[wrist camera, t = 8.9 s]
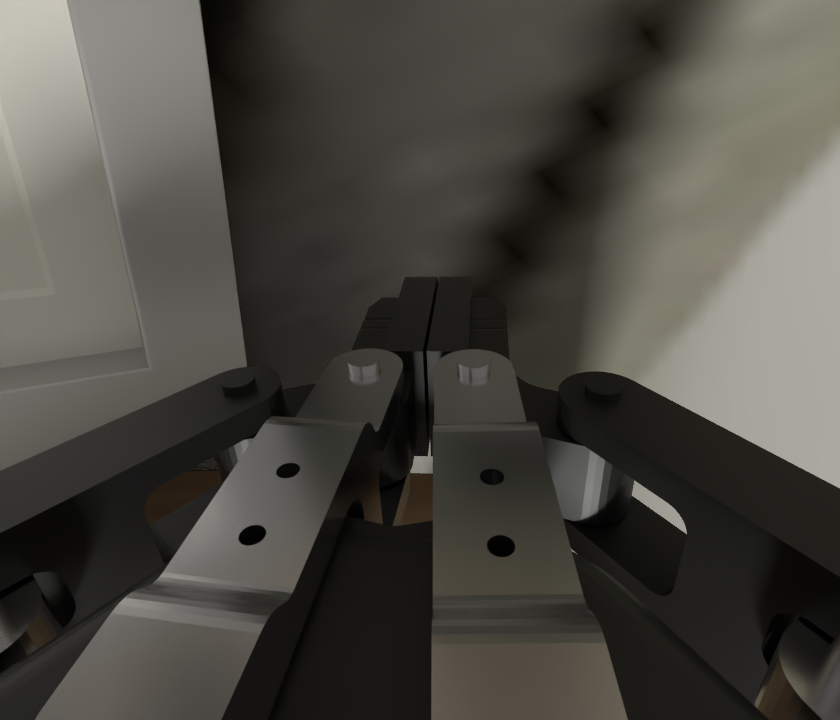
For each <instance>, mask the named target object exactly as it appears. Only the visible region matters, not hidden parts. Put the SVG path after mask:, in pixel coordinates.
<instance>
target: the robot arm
mask: <svg viewBox="0 0 840 720" xmlns="http://www.w3.org/2000/svg"><path fill="white" fill-rule="evenodd" d="M429 442H430V443H431V456H433V520H432V521H426V522H419V523H413V524H406V525H401V521H402V517H403V514H404V510H405V506H406V502H407V499H408V495H409V491H410V487H411V477H410V470H411V468H412V465H413V459H414V456H428V449H429ZM213 456H215V458H216V462H217V465H218V469H219V472H220V476H221V479H222V484H220V485H218V486H216V487H215V488H213V489H211V490H210V491H208V492H206V493H204V494H203V495H201V496H199V497H197V498H196V499H194V500H192V501H190V502H189V503H187V504H185V505H183V506H182V507H180V508H178V509H177V510H175V511H173V512H171V513H170V514H168V515H166V516H164V517H163V518H161V519H159V520H157V521H156V522H154V523H152V524H150V525H149V524H148V521H147V519H146V516H145V512H144V508H145V503H146V501H147V499H148V497H149V495H150V494H151V493H152V492H153V491H154V490H155V489H156V488H157V487H158V486H160V485H161V484H163V483H165V482H167V481H169V480H171V479H172V478H174V477H176V476H178V475H180V474H182V473H184V472H185V471H187V470H189V469H191V468H193V467H195V466H197V465H198V464H200V463H202V462H204V461H206V460H208V459H210V458H211V457H213ZM634 480H635V481H637V482H638V483H639V484H641V485H642V486H644V487H645V488H647V489H648V490H650V491H651V492H653V493H654V494H656V495H657V496H659V497H660V498H661V499H663V500H664V501H666V502H667V503H669V504H670V505H671V506H672V507H673V508H675V509H676V511H677V512H678V513H679V514H680V516H681V517H682V519H683V521H684V523H685V526H686V530H687V534H685V533H684V532H683V531H681V530H679V529H678V528H677V527H675V526H674V525H673V524H671V523H670V522H668V521H667V520H666V519H664V518H663V517H661V516H660V515H658V514H657V513H655V512H654V511H653V510H651V509H650V508H649V507H647V506H646V505H644V504H643V503H641V502H640V501H639V500H637V499H636V498H634V497H633V496H632V490H633V485H634ZM571 549H572V550H574V551H575V552H576V553H577V554H576V553H574V552H572V551H571ZM33 574H34V575H33ZM0 720H840V489H839V488H837V487H836V486H834V485H832V484H830V483H828V482H826V481H824V480H822V479H820V478H818V477H816V476H815V475H813V474H811V473H809V472H806V471H805V470H803V469H801V468H799V467H797V466H795V465H794V464H791V463H790V462H788V461H786V460H784V459H782V458H780V457H778V456H776V455H774V454H772V453H770V452H768V451H766V450H765V449H763V448H761V447H759V446H757V445H755V444H753V443H751V442H749V441H747V440H746V439H744V438H742V437H740V436H738V435H736V434H734V433H732V432H730V431H728V430H727V429H725V428H723V427H721V426H719V425H717V424H715V423H713V422H711V421H709V420H707V419H705V418H703V417H701V416H700V415H698V414H696V413H694V412H692V411H690V410H688V409H686V408H684V407H682V406H680V405H679V404H677V403H675V402H673V401H671V400H669V399H667V398H665V397H663V396H661V395H659V394H657V393H656V392H654V391H652V390H650V389H648V388H646V387H644V386H642V385H640V384H638V383H636V382H635V381H633V380H631V379H628V378H626V377H623V376H620V375H617V374H613V373H607V372H583V373H578V374H575V375H572V376H570V377H568V378H566V379H565V380H564V381H562V383H561V384H560V386H559V390H558V392H557V391H553V390H548V389H543V388H539V387H536V386H533V385H530V384H528V383H526V382H524V381H523V380H521V379H520V378H518V377H517V376H516V375H515V371H514V367H513V365H512V363H511V362H510V359H509V347H508V334H507V322H506V309H505V307H504V306H503V305H502V304H501V303H500V302H499V301H498V300H497V299H496V298H495V297H472V276H462V277H440V278H439V283H438V277H405V279H404V282H403V286H402V289H401V292H400V295H399V298H381V299H380V300H379V301H377V302H376V303H374V304H373V305H372V306H370V307H369V309H368V312H367V314H366V317H365V321H363V324H362V326H361V330H360V331H359V334H358V336H357V339H356V341H355V343H354V346H353V348H352V351H349V352H346V353H343V354H341V355H339V356H337V357H335V358H334V359H332V360H331V361H330V362H329V363H328V365H327V366H326V368H325V370H324V371H323V373H322V374H321V376H320V378H319V379H318V381H317V383H315V384H311V385H306V386H300V387H295V388H289V389H283V390H282V386H281V381H280V377H279V376H278V374H277V373H275V372H274V371H272V370H270V369H267V368H263V367H241V368H236V369H231V370H228V371H225V372H222V373H220V374H217V375H215V376H213V377H210V378H208V379H206V380H204V381H201V382H199V383H197V384H195V385H192V386H190V387H188V388H186V389H183V390H181V391H179V392H177V393H174V394H172V395H170V396H168V397H165V398H163V399H161V400H159V401H156V402H154V403H152V404H150V405H147V406H145V407H143V408H141V409H138V410H136V411H134V412H132V413H129V414H127V415H125V416H123V417H120V418H118V419H116V420H114V421H111V422H109V423H107V424H104V425H102V426H100V427H98V428H95V429H93V430H91V431H89V432H86V433H84V434H82V435H80V436H77V437H75V438H73V439H71V440H68V441H66V442H64V443H62V444H59V445H57V446H55V447H53V448H50V449H48V450H46V451H44V452H41V453H39V454H37V455H35V456H32V457H30V458H28V459H26V460H23V461H21V462H19V463H17V464H14V465H12V466H10V467H8V468H5V469H3V470H1V471H0Z"/></svg>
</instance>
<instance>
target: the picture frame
mask: <svg viewBox="0 0 840 720" xmlns="http://www.w3.org/2000/svg"><path fill="white" fill-rule="evenodd" d="M241 367H247V360H246V352H245V344H244V336H243V329H242V321H241V313H240V306H239V298H238V290H237V283H236V275H235V267H234V259H233V252H232V244H231V236H230V229H229V221H228V213H227V206H226V198H225V190H224V182H223V175H222V167H221V159H220V152H219V144H218V136H217V129H216V121H215V113H214V105H213V98H212V90H211V82H210V75H209V67H208V59H207V51H206V44H205V36H204V28H203V21H202V13H201V5H200V0H0V471H1V470H3V469H5V468H8V467H10V466H12V465H14V464H17V463H19V462H21V461H23V460H26V459H28V458H30V457H32V456H35V455H37V454H39V453H41V452H44V451H46V450H48V449H50V448H53V447H55V446H57V445H59V444H62V443H64V442H66V441H68V440H71V439H73V438H75V437H77V436H80V435H82V434H84V433H86V432H89V431H91V430H93V429H95V428H98V427H100V426H102V425H104V424H107V423H109V422H111V421H114V420H116V419H118V418H120V417H123V416H125V415H127V414H129V413H132V412H134V411H136V410H138V409H141V408H143V407H145V406H147V405H150V404H152V403H154V402H156V401H159V400H161V399H163V398H165V397H168V396H170V395H172V394H174V393H177V392H179V391H181V390H183V389H186V388H188V387H190V386H192V385H195V384H197V383H199V382H201V381H204V380H206V379H208V378H210V377H213V376H215V375H217V374H220V373H222V372H225V371H228V370H231V369H236V368H241Z"/></svg>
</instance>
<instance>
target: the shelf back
mask: <svg viewBox="0 0 840 720" xmlns="http://www.w3.org/2000/svg"><path fill="white" fill-rule="evenodd" d="M410 477H411V487H410V491H409V495H408V499H407V502H406V506H405V510H404V514H403V517H402V521H401V525H406V524H413V523H419V522H426V521H432V520H433V474H420V473H410ZM220 484H222V479H221V476H220V472H219V471H194V470H187V471H185V472H184V473H182V474H180V475H178V476H176V477H174V478H172V479H171V480H169V481H167V482H165V483H163V484H161V485H160V486H158V487H157V488H156V489H155V490H154V491H153V492H152V493H151V494H150V495H149V497H148V499H147V501H146V503H145V508H144V512H145V516H146V519H147V521H148V524H149V525H150V524H152V523H154V522H156V521H157V520H159V519H161V518H163V517H164V516H166V515H168V514H170V513H171V512H173V511H175V510H177V509H178V508H180V507H182V506H183V505H185V504H187V503H189V502H190V501H192V500H194V499H196V498H197V497H199V496H201V495H203V494H204V493H206V492H208V491H210V490H211V489H213V488H215V487H216V486H218V485H220ZM33 575H34V574H33Z"/></svg>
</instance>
